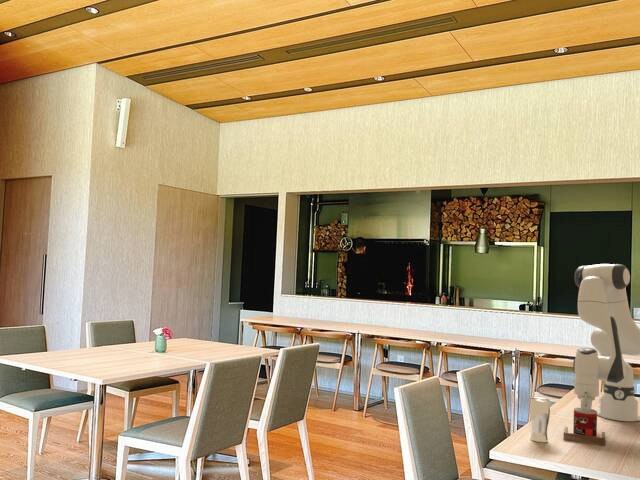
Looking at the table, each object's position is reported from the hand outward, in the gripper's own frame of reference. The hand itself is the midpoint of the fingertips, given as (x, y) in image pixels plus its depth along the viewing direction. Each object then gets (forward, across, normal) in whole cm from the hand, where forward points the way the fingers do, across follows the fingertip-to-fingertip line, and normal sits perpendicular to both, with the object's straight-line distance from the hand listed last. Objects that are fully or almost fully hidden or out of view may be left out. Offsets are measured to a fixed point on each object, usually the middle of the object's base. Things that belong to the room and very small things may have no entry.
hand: (585, 425), depth 234 cm
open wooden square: (+3, -11, 0) cm, 11 cm away
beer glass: (+3, -23, +15) cm, 27 cm away
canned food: (+3, -11, 0) cm, 12 cm away
